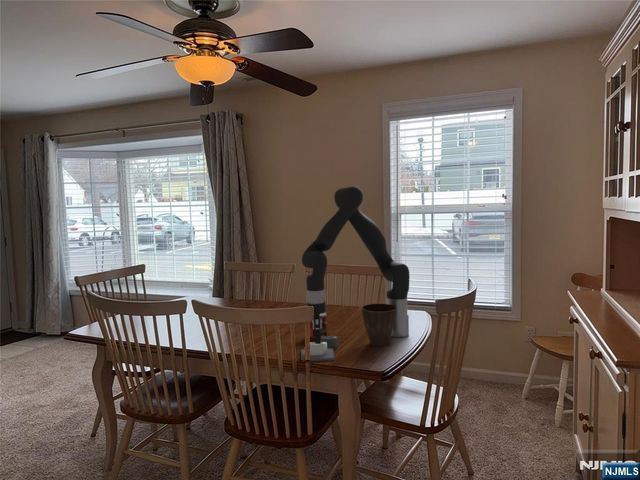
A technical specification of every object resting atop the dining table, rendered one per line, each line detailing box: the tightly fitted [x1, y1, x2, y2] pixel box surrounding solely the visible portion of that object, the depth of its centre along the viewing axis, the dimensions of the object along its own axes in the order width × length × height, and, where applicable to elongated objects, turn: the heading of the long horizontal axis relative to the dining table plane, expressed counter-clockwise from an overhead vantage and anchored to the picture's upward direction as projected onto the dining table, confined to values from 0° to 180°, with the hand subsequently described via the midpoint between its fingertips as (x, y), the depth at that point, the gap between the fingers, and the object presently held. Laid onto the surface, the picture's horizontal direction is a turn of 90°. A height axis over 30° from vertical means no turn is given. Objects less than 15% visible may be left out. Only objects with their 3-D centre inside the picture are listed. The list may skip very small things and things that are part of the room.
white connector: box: [309, 341, 328, 355], centre depth 181 cm, size 9×4×4 cm, turn 91°
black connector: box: [321, 335, 339, 349], centre depth 191 cm, size 9×4×4 cm, turn 91°
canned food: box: [309, 312, 328, 340], centre depth 205 cm, size 8×8×11 cm
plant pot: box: [361, 303, 397, 347], centre depth 193 cm, size 15×15×16 cm
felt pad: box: [300, 348, 335, 362], centre depth 181 cm, size 13×11×1 cm
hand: (317, 340), depth 180 cm, fingers open, 8 cm apart
